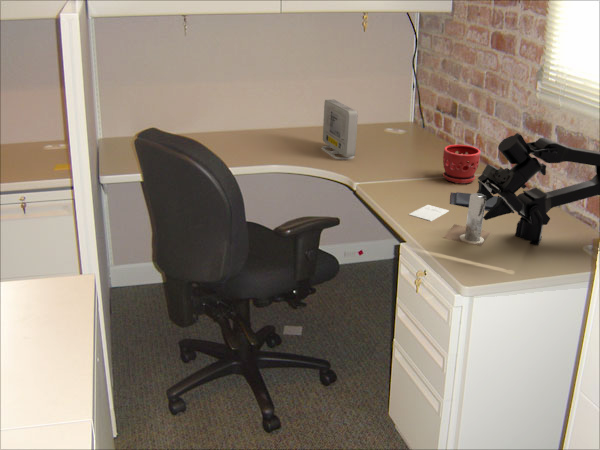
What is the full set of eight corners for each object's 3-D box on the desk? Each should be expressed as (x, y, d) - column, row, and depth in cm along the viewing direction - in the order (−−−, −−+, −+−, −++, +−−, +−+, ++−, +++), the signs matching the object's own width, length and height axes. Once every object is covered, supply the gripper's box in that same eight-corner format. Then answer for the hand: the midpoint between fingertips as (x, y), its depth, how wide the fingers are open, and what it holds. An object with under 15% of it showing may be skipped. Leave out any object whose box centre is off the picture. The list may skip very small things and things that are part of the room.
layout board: (490, 234, 189) (490, 231, 189) (480, 248, 180) (481, 245, 179) (454, 226, 194) (454, 223, 194) (442, 240, 184) (442, 236, 184)
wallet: (449, 203, 210) (451, 188, 224) (448, 208, 211) (450, 193, 224) (512, 210, 206) (510, 195, 219) (511, 215, 206) (509, 200, 220)
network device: (359, 160, 256) (363, 111, 248) (339, 162, 253) (342, 112, 245) (335, 144, 278) (337, 98, 270) (316, 145, 275) (318, 99, 268)
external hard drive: (407, 218, 201) (426, 208, 210) (430, 225, 196) (449, 214, 205) (407, 213, 200) (427, 203, 209) (431, 220, 195) (449, 210, 204)
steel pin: (478, 236, 185) (485, 193, 180) (481, 242, 181) (487, 199, 176) (463, 234, 186) (469, 192, 181) (465, 240, 182) (471, 197, 177)
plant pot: (436, 174, 243) (439, 143, 238) (469, 174, 244) (473, 144, 239) (446, 185, 231) (450, 153, 226) (481, 185, 232) (486, 154, 227)
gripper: (488, 146, 184) (447, 183, 186) (519, 165, 167) (474, 206, 169) (510, 171, 188) (469, 208, 190) (542, 192, 171) (498, 232, 173)
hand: (477, 212), depth 181 cm, fingers open, 9 cm apart
